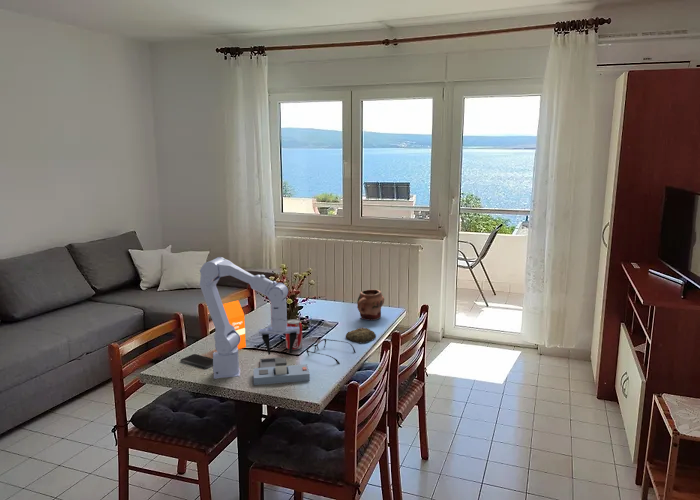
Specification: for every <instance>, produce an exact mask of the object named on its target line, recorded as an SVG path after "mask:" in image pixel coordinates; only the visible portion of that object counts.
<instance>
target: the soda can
mask: <svg viewBox="0 0 700 500" xmlns="http://www.w3.org/2000/svg"><path fill="white" fill-rule="evenodd" d="M287 327H299V332H300V333H299V334H297V333H296V334H297V337H296V339H295V342H294V344H293V347H292V351H295V350H300V349H301V348H302V347H303V325H302V322H301V320H300V319H297V318H293V319H291V318H290V319H287ZM289 344H290V340H289V334H285V347H286V349H288V350H289Z"/></svg>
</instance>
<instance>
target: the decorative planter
mask: <svg viewBox="0 0 700 500" xmlns="http://www.w3.org/2000/svg"><path fill="white" fill-rule="evenodd" d="M384 304H385V297H384V296H383V294H382V291H381V289H380V290H379V289H365V290H362V291H360V293H359V295H358V298H357V301H356V305H357V307H356V308H357V310H358V312H359V316H360V318H361V319H363V320H366V321H376V320H378V319H381V318H382V306H383V305H384Z"/></svg>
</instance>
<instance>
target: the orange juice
mask: <svg viewBox="0 0 700 500" xmlns="http://www.w3.org/2000/svg"><path fill="white" fill-rule="evenodd" d="M223 306H224V309H225V312H226V315H227V318H228V320H229V323H230V325H232V326H234V328H235V330H236V332H237V333H238V334H239V335H240V339H241V340H240V343H239V344H238V350H242V349H244V348H247V345H246V343H247V342H246V323H245V319H246V318H245V313H244V311H243V309H242V306H241V303H240V300H234V301H229V302H225V303H223Z"/></svg>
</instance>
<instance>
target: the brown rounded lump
mask: <svg viewBox="0 0 700 500" xmlns="http://www.w3.org/2000/svg"><path fill="white" fill-rule="evenodd" d="M376 336H377V334H376V333H375V332H374V331H373V330H371V329H369V328H367V327H358V328H357V329H353V330H351V331H347V333H346V335H345V337H346V338H347V339H348V340H349V341H352V342H355V343H358V342H359V343H360V344H365V343H369V342H372V341H373V340H374V339H376Z"/></svg>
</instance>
